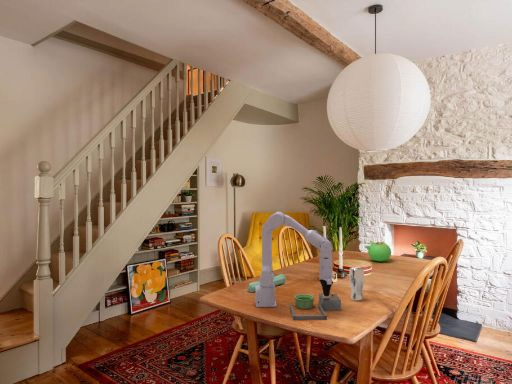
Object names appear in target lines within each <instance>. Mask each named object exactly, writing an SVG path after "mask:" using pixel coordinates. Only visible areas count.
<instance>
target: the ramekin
mask: <svg viewBox="0 0 512 384" xmlns="http://www.w3.org/2000/svg"><path fill="white" fill-rule="evenodd" d="M314 300H315V296H313V295H312V294H307V293H302V294H301V293H300V294H299V293H298V294H296V295H294V303H295V307H296V308H298V309H301V310H308V309H309V310H310V309H312V308H313V307H314V302H315V301H314Z"/></svg>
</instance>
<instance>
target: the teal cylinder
mask: <svg viewBox="0 0 512 384" xmlns="http://www.w3.org/2000/svg"><path fill="white" fill-rule="evenodd" d="M286 281H287V279H286V276H285V274H283V273H279V274H278V275H276V276H275V277H274V280H273V283H274V284H275V287H277V286H279V285H284V284H286ZM259 285H260V282H259V280H258V281H253V282H250V283H249V284H248V285H247V291H248V292H249V293H251V292H252V293H256V286H259Z"/></svg>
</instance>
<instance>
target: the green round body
mask: <svg viewBox="0 0 512 384" xmlns="http://www.w3.org/2000/svg"><path fill="white" fill-rule="evenodd" d="M369 243H370V245H367V244H366V245H364V248H365V249H367V253H368V254H367V255H368V256H369V258H371V260H373V261H374V262H380V263H381V262H386V261H388V260H389V259H390V258H391V255H392V250H391V247H390V246H389V245H388V244H387V243H385V242H384V241H377V242H374V241H373V240H369Z"/></svg>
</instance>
